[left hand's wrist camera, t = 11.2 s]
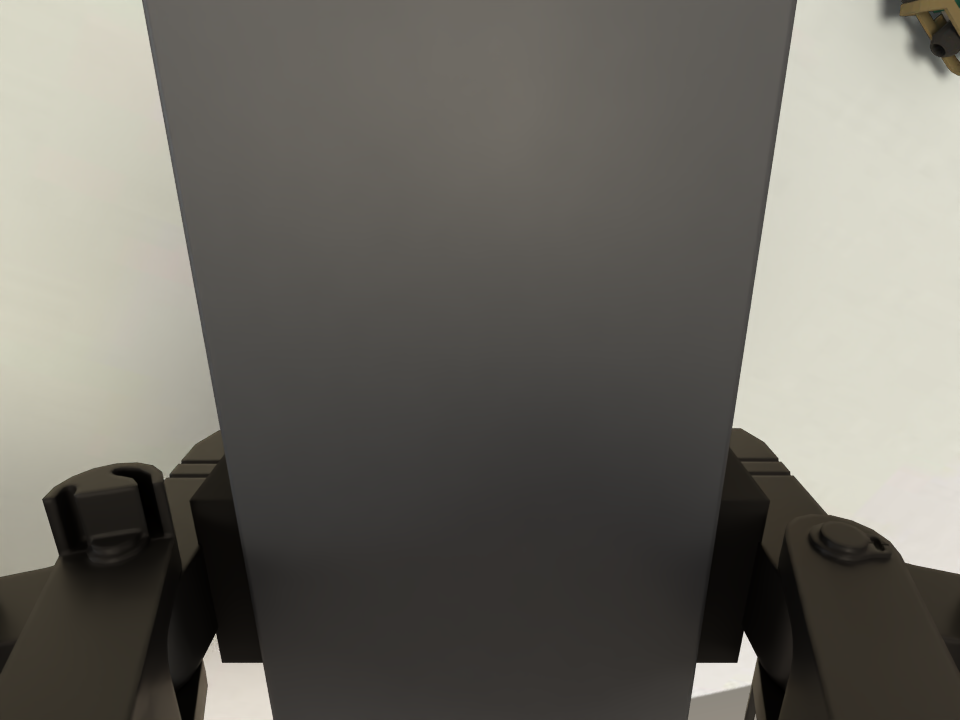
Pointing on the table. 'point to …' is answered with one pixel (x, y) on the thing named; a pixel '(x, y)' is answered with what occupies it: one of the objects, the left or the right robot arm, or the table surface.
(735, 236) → the bar
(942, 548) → the table surface
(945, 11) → the spray gun
